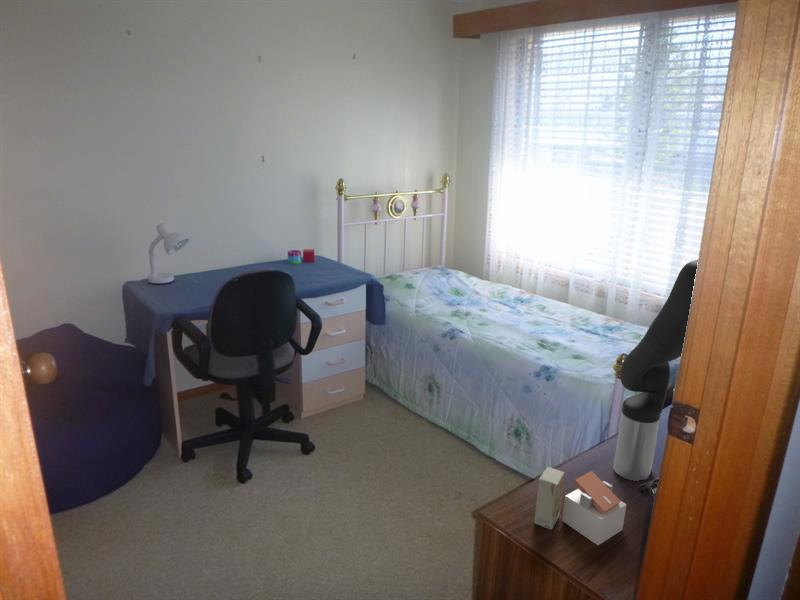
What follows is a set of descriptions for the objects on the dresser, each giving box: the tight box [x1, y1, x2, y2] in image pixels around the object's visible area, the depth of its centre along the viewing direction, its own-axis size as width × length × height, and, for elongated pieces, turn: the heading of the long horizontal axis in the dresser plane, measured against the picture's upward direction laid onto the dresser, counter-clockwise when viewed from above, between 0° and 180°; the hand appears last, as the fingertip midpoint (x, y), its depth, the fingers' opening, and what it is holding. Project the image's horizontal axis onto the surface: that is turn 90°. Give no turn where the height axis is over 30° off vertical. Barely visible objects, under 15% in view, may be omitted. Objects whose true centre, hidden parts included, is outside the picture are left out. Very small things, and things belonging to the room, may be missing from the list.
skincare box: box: [534, 466, 565, 530], centre depth 138 cm, size 6×4×12 cm
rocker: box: [572, 470, 621, 514], centre depth 135 cm, size 6×9×2 cm, turn 36°
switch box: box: [561, 480, 627, 546], centre depth 137 cm, size 9×10×10 cm
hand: (640, 491), depth 125 cm, fingers closed
